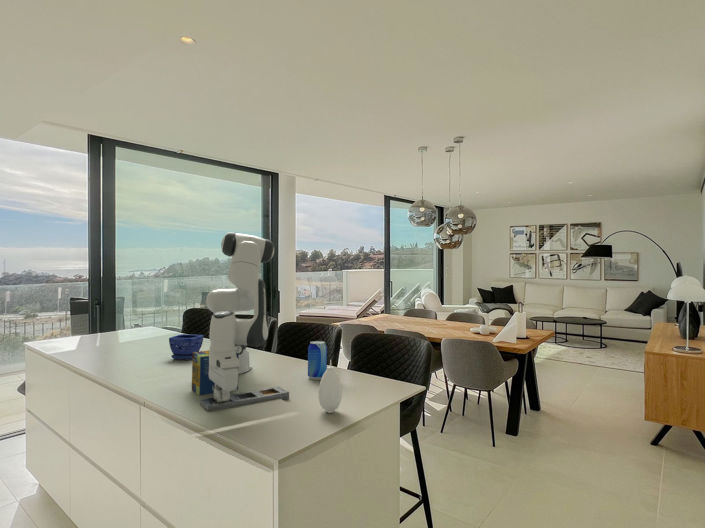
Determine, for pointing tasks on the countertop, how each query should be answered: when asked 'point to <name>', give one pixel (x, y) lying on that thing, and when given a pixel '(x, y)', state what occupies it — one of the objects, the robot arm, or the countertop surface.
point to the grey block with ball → (219, 396)
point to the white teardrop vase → (330, 390)
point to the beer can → (317, 360)
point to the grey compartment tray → (246, 398)
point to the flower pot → (185, 345)
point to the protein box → (202, 373)
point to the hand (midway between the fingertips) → (221, 397)
